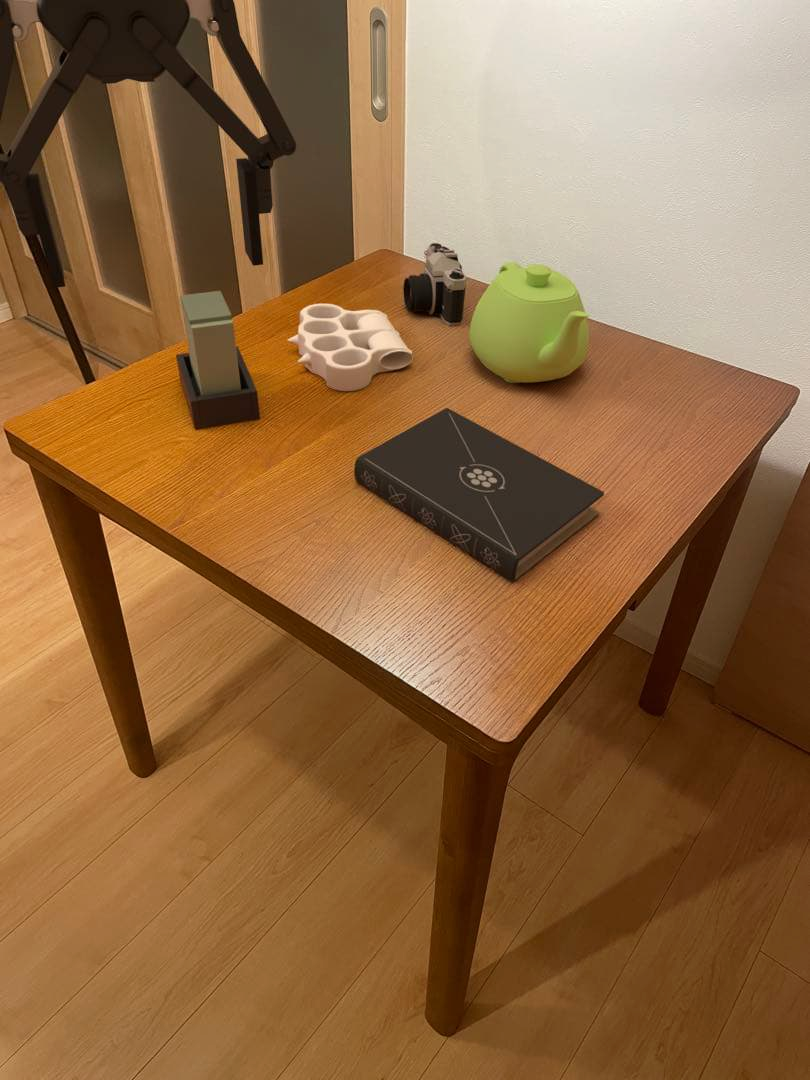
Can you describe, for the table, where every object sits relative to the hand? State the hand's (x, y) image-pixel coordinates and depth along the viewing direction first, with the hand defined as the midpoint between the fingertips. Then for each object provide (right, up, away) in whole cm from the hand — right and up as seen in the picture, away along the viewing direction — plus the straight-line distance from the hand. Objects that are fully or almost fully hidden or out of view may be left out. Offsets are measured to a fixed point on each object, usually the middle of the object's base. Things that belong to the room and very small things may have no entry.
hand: (159, 268), depth 57 cm
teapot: (+34, +3, +49) cm, 59 cm away
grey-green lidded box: (-5, -2, +40) cm, 40 cm away
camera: (+21, +15, +61) cm, 66 cm away
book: (+25, -15, +28) cm, 40 cm away
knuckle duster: (+10, +5, +49) cm, 51 cm away
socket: (-5, -2, +40) cm, 41 cm away
